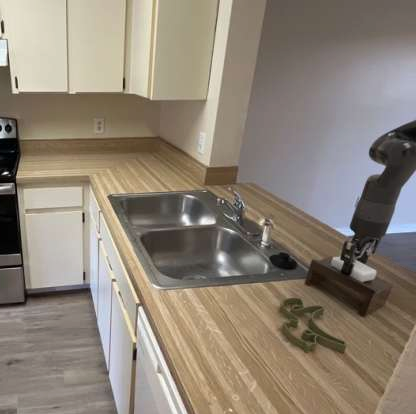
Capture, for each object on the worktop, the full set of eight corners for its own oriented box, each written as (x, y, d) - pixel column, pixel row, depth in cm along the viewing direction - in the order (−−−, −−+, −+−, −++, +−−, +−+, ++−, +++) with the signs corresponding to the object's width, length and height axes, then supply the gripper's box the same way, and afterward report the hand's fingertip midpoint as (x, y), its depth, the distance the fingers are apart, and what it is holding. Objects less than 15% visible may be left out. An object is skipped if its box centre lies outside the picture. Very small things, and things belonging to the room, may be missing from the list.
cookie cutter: (349, 359, 74) (352, 352, 73) (291, 350, 76) (293, 344, 75) (318, 306, 90) (320, 300, 89) (270, 300, 92) (271, 294, 91)
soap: (375, 280, 89) (378, 270, 87) (359, 283, 87) (363, 274, 86) (343, 262, 96) (346, 253, 95) (329, 265, 95) (331, 256, 94)
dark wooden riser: (324, 275, 103) (332, 251, 100) (384, 305, 90) (395, 279, 87) (304, 284, 99) (311, 259, 96) (364, 317, 86) (375, 290, 82)
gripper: (373, 227, 79) (352, 285, 85) (404, 215, 85) (381, 270, 91) (340, 215, 85) (322, 270, 92) (370, 205, 91) (352, 257, 98)
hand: (352, 270), depth 91 cm, fingers closed on soap, 6 cm apart
